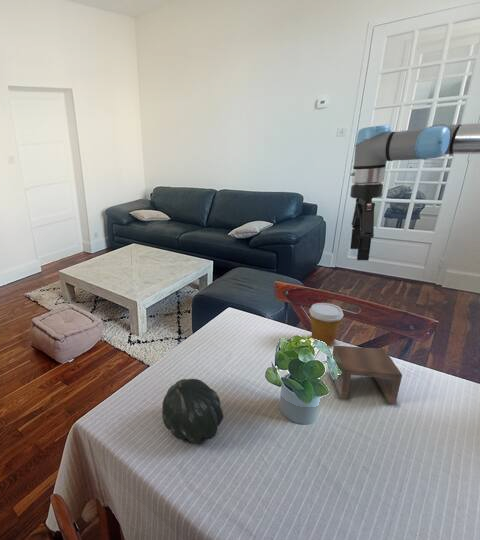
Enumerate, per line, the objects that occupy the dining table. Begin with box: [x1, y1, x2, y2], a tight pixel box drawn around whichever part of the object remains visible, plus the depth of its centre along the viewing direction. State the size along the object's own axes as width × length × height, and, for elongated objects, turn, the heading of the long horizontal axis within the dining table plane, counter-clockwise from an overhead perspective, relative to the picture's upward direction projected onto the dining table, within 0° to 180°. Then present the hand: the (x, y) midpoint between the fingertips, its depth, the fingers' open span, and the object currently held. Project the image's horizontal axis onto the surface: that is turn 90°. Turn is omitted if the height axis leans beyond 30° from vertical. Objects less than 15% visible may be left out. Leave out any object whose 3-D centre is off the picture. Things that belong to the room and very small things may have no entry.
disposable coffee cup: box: [308, 302, 345, 347], centre depth 110 cm, size 10×10×12 cm
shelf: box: [331, 345, 403, 405], centre depth 90 cm, size 12×11×9 cm
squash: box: [161, 378, 224, 444], centre depth 82 cm, size 14×15×15 cm
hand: (358, 254), depth 104 cm, fingers open, 13 cm apart
